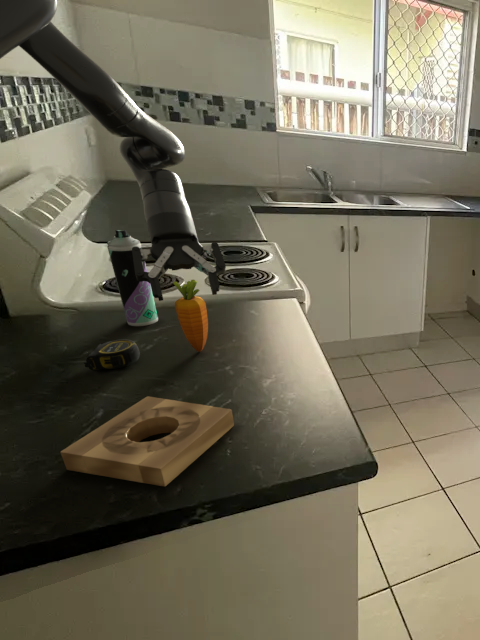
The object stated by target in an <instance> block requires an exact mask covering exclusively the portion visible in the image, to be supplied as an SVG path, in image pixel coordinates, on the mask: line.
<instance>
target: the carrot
mask: <svg viewBox="0 0 480 640" xmlns="http://www.w3.org/2000/svg"><path fill="white" fill-rule="evenodd" d="M172 284H173V285H174V286H175V288H176V289H177V290H178V292H179V293H180V294H181V295H182V297H180V298H178V299H176V301H174V308H175V312H176V316H177V320H178V323H179V327H180V328H181V331H182V332H183V334H184V337H185V338H186V340H187V342H188V343H189V344H190V345H191V347H192V348H194V349H195V351H196V352H198V353H200V352H202V351H203V349H204V348H205V346H206V343H207V340H208V334H209V318H208V311H207V304H206V301H205V300H204V299H203V298H202V297H201V296H197V294H198V293H199V292H200V289H199V288H196V286H197V284H198V281H197V280H195V279H191V280H188V281H187V282H186V283H183V284H182V285H181V284H179V282H178V281H176V280H175V281H173V282H172ZM195 288H196V289H195Z"/></svg>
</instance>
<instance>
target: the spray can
mask: <svg viewBox="0 0 480 640" xmlns="http://www.w3.org/2000/svg"><path fill="white" fill-rule="evenodd" d="M106 244H107V251H108V254H109V258H110V262H111V266H112V270H113V275H114V278H115V281H116V285H117V288H118V294H119V296H120V300H121V304H122V309H123V312H124V315H125V319H126V322H127V325H128V326H131V327H144V326H150V325H153V324H155V323H157V322H158V321H159V316H158V312H157V308H156V302H155V298H154V297H153V294H152V289H151V285H150V283H149V282H146V281H143V282H139V281H138V280H137V278H136V274H135V269H134V261H133V254H132V248H133V247H139V248H140V249H143V247H142V244H141V241H140V240H139V239H136V238H134V237H132V235H130V234H129V233H128V232H127V230H126V229H123V230H121V229H115V234H114V235H113V238H112V239H111V240H108V241H107V242H106ZM143 268H144V272H148V269H147V264H146V261H145V262H143Z"/></svg>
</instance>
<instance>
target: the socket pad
mask: <svg viewBox="0 0 480 640" xmlns="http://www.w3.org/2000/svg"><path fill="white" fill-rule="evenodd" d="M234 426H235V420H234V416H233V410H232V409H230V408H225V407H218V406H213V405H207V404H200V403H194V402H187V401H180V400H174V399H168V398H161V397H154V396H148V395H147V396H146V397H144V398H142V399H141V400H139V401H138V402H136V403H134V404H133V405H131V406H130V407H128V408H127V409H125V410H124V411H122V412H120V413H119V414H117V415H115V416H113V418H110V420H108V421H106V422H104V423H103V424H101V425H100V426H98V427H97V428H95V429H93V430H92V431H90V432H89V433H87V434H86V435H84V436H83V437H81V438H79V439H78V440H76V441H75V442H73V443H72V444H70V445H68V446H67V447H66V448H64V449H62V450H61V451H60V455H61V458H62V461H63V463H64V466H65V469H66V470H67V471H72V472H79V473H84V474H89V475H95V476H99V477H100V476H101V477H106V478H112V479H117V480H118V479H119V480H124V481H130V482H136V483H140V484H147V485H153V486H158V487H167V486H168V485H169V484H170V483H171V482H172V481H173V480H175V479H176V478H177V477H178V476H179V475H181V473H183V472H184V471H185V470H186V469H187V468H188V467H190V465H192V464H193V463H194V462H195V461H196V460H197V459H198V458H199V457H200V456H202V455H203V454H204V453H206V451H207V450H208V449H210V448H211V447H212V446H213V445H214V444H215V443H217V441H219V439H221V438H222V437H224V435H226V434H227V433H228V432H229V431H230V430H231V429H232V428H233V427H234ZM160 434H168V435H166V436H164V437H161V438H158V439H155V440H150V441H142V440H145V439H147V438H150V437H153V436H157V435H160Z"/></svg>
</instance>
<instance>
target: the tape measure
mask: <svg viewBox="0 0 480 640" xmlns="http://www.w3.org/2000/svg"><path fill="white" fill-rule="evenodd" d="M140 353H141V352H140V349H139V347H138V344H137V343H136V342H135V341H134V340H132V339H116V340H110V341H104V342H101V343H99V344H98V345H97V346H96V347H95V348H94V350H93V351H92V352H91V353H90V354H88V355H87V357H86V359H85V361H84V362H83V365H84V367H85V368H88V369H90V370H91V371H98V370H102V369H104V370H115V369H120V368H121V369H122V368H126V367H127V366H130V365H133V364H134V363H136V362H138V360H139V358H140V355H141V354H140Z"/></svg>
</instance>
